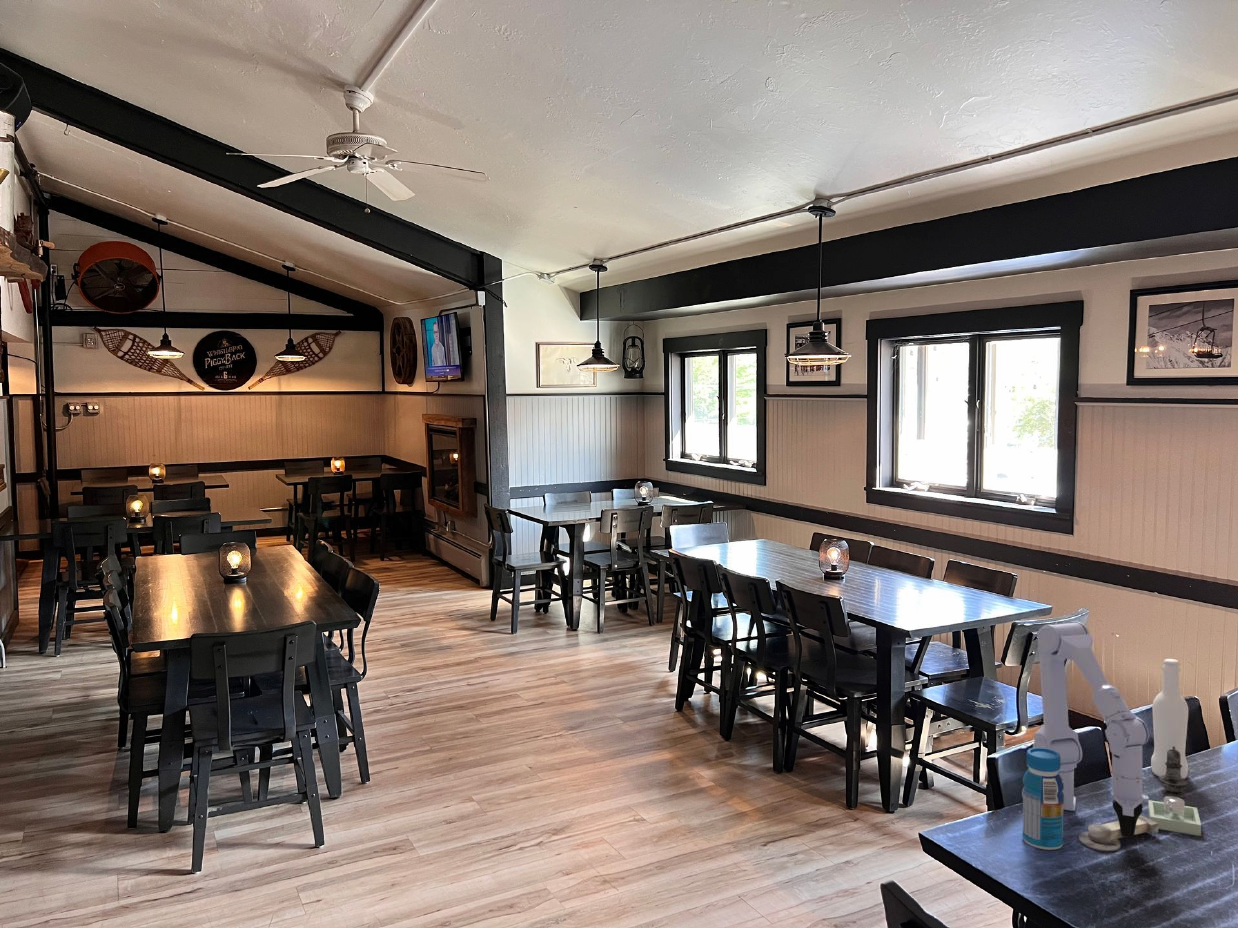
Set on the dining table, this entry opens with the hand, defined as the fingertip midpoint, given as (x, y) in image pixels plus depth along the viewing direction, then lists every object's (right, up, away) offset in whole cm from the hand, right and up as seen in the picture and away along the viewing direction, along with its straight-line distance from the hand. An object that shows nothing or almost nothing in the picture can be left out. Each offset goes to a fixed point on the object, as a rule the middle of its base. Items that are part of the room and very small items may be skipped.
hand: (1127, 835), depth 196 cm
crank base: (-6, -2, +1) cm, 6 cm away
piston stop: (+16, -1, +9) cm, 18 cm away
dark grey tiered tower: (+25, 0, +25) cm, 35 cm away
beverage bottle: (-18, -2, +2) cm, 18 cm away
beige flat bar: (0, -1, +3) cm, 3 cm away
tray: (+16, -1, +10) cm, 19 cm away
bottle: (+31, +1, +36) cm, 47 cm away
